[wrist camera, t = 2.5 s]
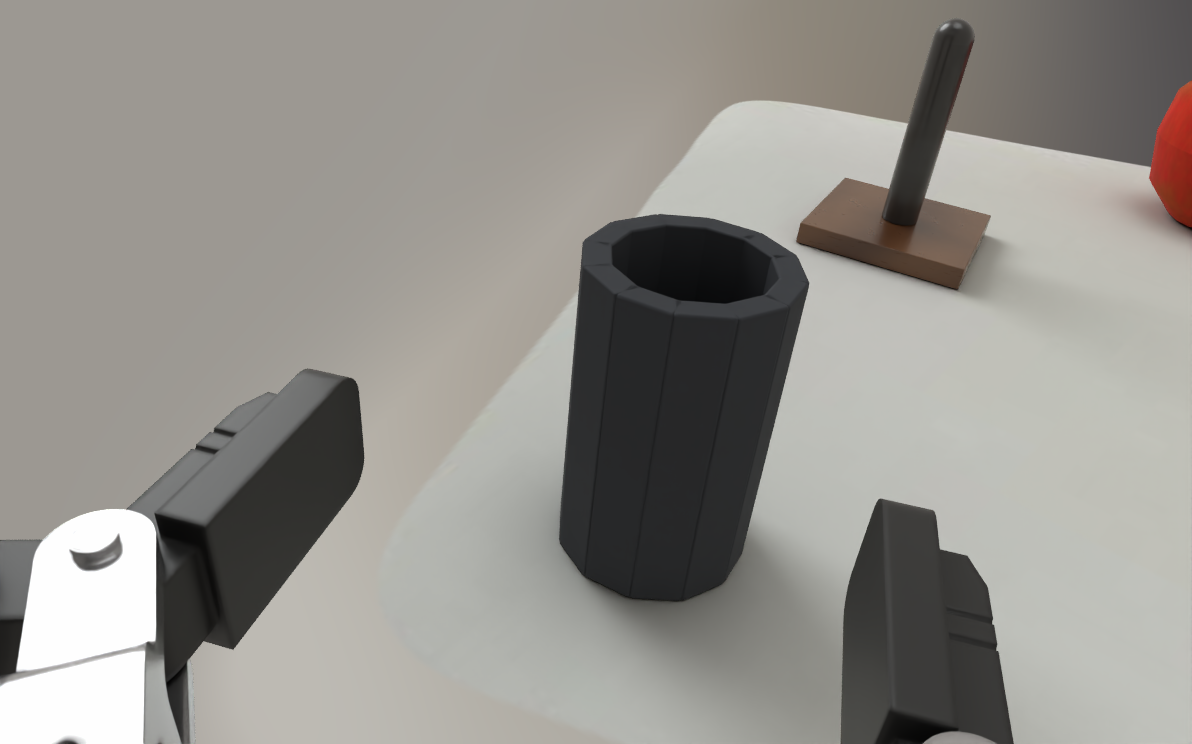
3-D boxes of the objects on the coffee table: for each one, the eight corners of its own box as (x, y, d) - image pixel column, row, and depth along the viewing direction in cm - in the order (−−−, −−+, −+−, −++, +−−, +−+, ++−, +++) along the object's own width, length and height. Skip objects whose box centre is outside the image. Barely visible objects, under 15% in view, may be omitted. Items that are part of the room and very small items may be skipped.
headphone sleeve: (524, 547, 28) (539, 268, 22) (614, 450, 32) (645, 197, 27) (694, 632, 25) (759, 344, 20) (765, 514, 30) (834, 253, 24)
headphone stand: (795, 242, 49) (849, 15, 42) (840, 195, 56) (892, -8, 49) (957, 289, 46) (1043, 51, 39) (984, 233, 52) (1061, 22, 46)
